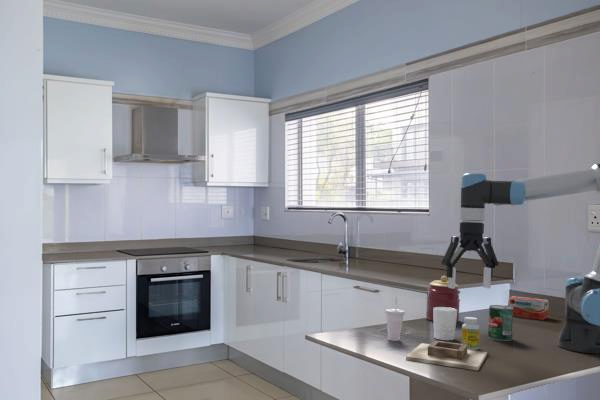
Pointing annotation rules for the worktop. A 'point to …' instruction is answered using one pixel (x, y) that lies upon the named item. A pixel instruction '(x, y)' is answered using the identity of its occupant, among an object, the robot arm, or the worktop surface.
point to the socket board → (448, 355)
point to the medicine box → (529, 307)
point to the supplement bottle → (470, 333)
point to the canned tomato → (500, 322)
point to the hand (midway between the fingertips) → (469, 288)
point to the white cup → (444, 322)
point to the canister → (442, 297)
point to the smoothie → (394, 322)
